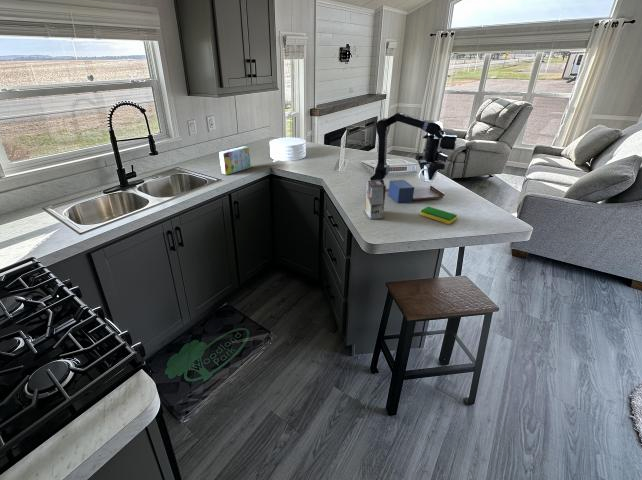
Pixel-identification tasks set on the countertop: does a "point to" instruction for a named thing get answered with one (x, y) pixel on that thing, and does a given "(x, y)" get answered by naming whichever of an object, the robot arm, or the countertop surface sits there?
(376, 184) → the coffee box
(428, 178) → the cup
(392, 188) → the navy box
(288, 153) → the plate stack
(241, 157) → the snack box
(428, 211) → the dish sponge
